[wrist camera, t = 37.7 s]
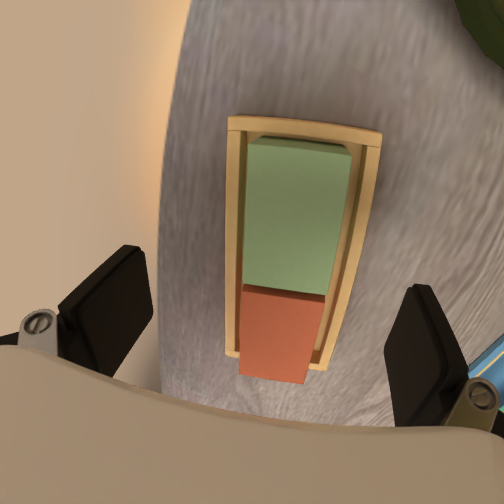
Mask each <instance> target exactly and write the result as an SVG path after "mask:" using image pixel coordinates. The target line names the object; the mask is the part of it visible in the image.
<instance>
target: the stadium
mask: <svg viewBox="0 0 504 504" xmlns="http://www.w3.org/2000/svg"><path fill="white" fill-rule="evenodd" d="M468 369H469V372H468V376H469V379H471V378H473V377H481V378H484V379H487V380H488V381H490V382H491V383H492V384H493V385H494V386H495V387H496V388H497V390H498V392H499V395H500V406H499V410H500V411H502V412H503V413H504V335H503V336H502V337H501V338H499V339H498V340H497V341H496V342H495V343H494V344H493V345H492V346H490V347H489V348H488V349H487V350H486V351H485V352H484V353H483V354H482V355H481V356H480V357H479V358H478V359H477V360H475V361H474V362H473V363H472V364H471V365H470V366H469V367H468Z"/></svg>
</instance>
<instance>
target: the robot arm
mask: <svg viewBox="0 0 504 504" xmlns="http://www.w3.org/2000/svg"><path fill="white" fill-rule="evenodd" d="M58 309H59V312H60V313H59V314H58V315H56V314H55V313H54V311H52V310H50V309H39V310H36V311H33V312H32V313H30V314H28V315H27V316H26V317H25V318H24V319H23V321H22V322H21V325H20V330H19V332H16V333H13V334H9V335H5V336H1V337H0V504H504V413H503V412H502V411H500V410H499V406H500V395H499V392H498V390H497V388H496V387H495V386H494V385H493V384H492V383H491V382H490V381H488V380H487V379H484V378H481V377H473V378H471V379H469V376H468V372H469V369H468V366H467V364H466V361H465V359H464V356H463V354H462V351H461V349H460V347H459V344H458V342H457V340H456V338H455V335H454V333H453V331H452V329H451V327H450V324H449V322H448V320H447V318H446V316H445V314H444V312H443V310H442V308H441V306H440V304H439V302H438V300H437V298H436V296H435V294H434V292H433V290H432V288H431V287H430V286H429V285H423V284H414V285H413V286H412V287H409V288H408V289H407V291H406V294H405V296H404V299H403V302H402V304H401V307H400V310H399V312H398V315H397V317H396V320H395V322H394V324H393V327H392V329H391V332H390V334H389V336H388V339H387V341H386V343H385V346H384V357H385V362H386V368H387V374H388V380H389V386H390V392H391V399H392V406H393V413H394V421H395V427H371V426H343V425H328V424H316V423H306V422H297V421H289V420H281V419H274V418H267V417H261V416H255V415H249V414H244V413H238V412H233V411H228V410H223V409H219V408H214V407H210V406H205V405H201V404H197V403H193V402H189V401H185V400H181V399H178V398H174V397H170V396H167V395H163V394H160V393H156V392H153V391H150V390H146V389H143V388H140V387H137V386H134V385H131V384H128V383H125V382H122V381H119V380H117V379H114V378H112V377H113V376H114V374H115V373H116V371H117V369H118V368H119V366H120V365H121V363H122V362H123V360H124V359H125V357H126V356H127V354H128V353H129V351H130V350H131V348H132V347H133V345H134V344H135V342H136V341H137V339H138V338H139V336H140V335H141V333H142V332H143V330H144V329H145V327H146V326H147V324H148V323H149V322H150V320H151V318H152V316H153V305H152V299H151V293H150V287H149V280H148V274H147V267H146V259H145V253H144V252H143V251H141V249H140V247H138V246H132V245H123V246H122V247H121V248H120V249H119V250H117V251H116V252H115V253H114V254H113V255H112V256H111V257H109V258H108V259H107V260H106V261H105V262H104V263H103V264H101V265H100V266H99V267H98V268H97V269H96V270H95V271H94V272H93V273H92V274H90V275H89V276H88V277H87V278H86V279H85V280H84V281H83V282H82V283H81V284H80V285H79V286H78V287H77V288H75V289H74V290H73V291H72V292H71V293H70V294H69V295H68V296H67V297H66V298H65V299H64V300H63V301H62V302H61V303H60V304H59V305H58Z"/></svg>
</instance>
